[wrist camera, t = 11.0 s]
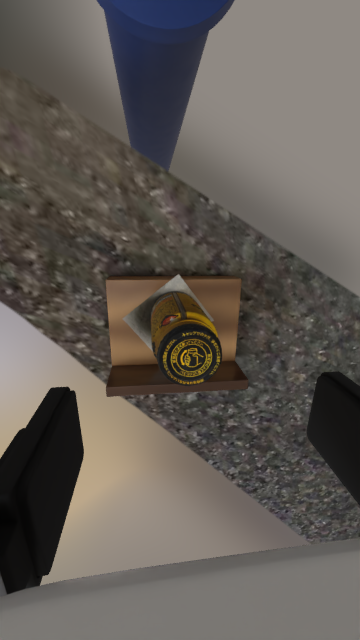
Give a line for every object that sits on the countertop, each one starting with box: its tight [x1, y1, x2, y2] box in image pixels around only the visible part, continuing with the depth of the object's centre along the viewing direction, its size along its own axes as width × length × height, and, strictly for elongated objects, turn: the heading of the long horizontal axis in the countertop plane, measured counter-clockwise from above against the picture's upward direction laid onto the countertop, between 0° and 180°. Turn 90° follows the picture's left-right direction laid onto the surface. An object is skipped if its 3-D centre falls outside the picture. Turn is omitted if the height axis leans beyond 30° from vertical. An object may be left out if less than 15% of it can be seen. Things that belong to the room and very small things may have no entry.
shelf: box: [106, 276, 249, 397], centre depth 31 cm, size 12×16×8 cm
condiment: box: [123, 274, 222, 386], centre depth 26 cm, size 7×8×12 cm
